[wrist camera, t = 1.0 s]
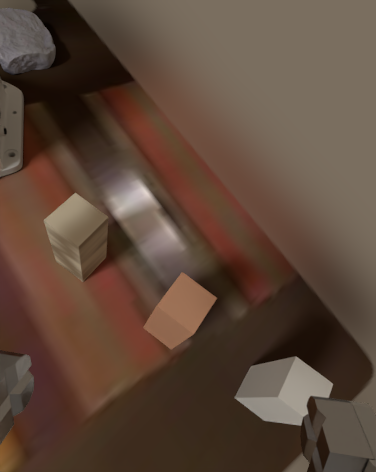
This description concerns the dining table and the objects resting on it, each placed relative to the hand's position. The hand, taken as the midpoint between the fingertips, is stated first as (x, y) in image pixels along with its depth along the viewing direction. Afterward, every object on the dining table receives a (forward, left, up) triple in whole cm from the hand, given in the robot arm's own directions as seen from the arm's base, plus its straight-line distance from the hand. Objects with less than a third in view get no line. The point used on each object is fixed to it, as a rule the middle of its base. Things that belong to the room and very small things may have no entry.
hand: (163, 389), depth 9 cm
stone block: (-54, -21, -32) cm, 66 cm away
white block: (-1, +17, -31) cm, 36 cm away
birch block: (-16, -6, -31) cm, 36 cm away
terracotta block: (-8, +6, -31) cm, 33 cm away
